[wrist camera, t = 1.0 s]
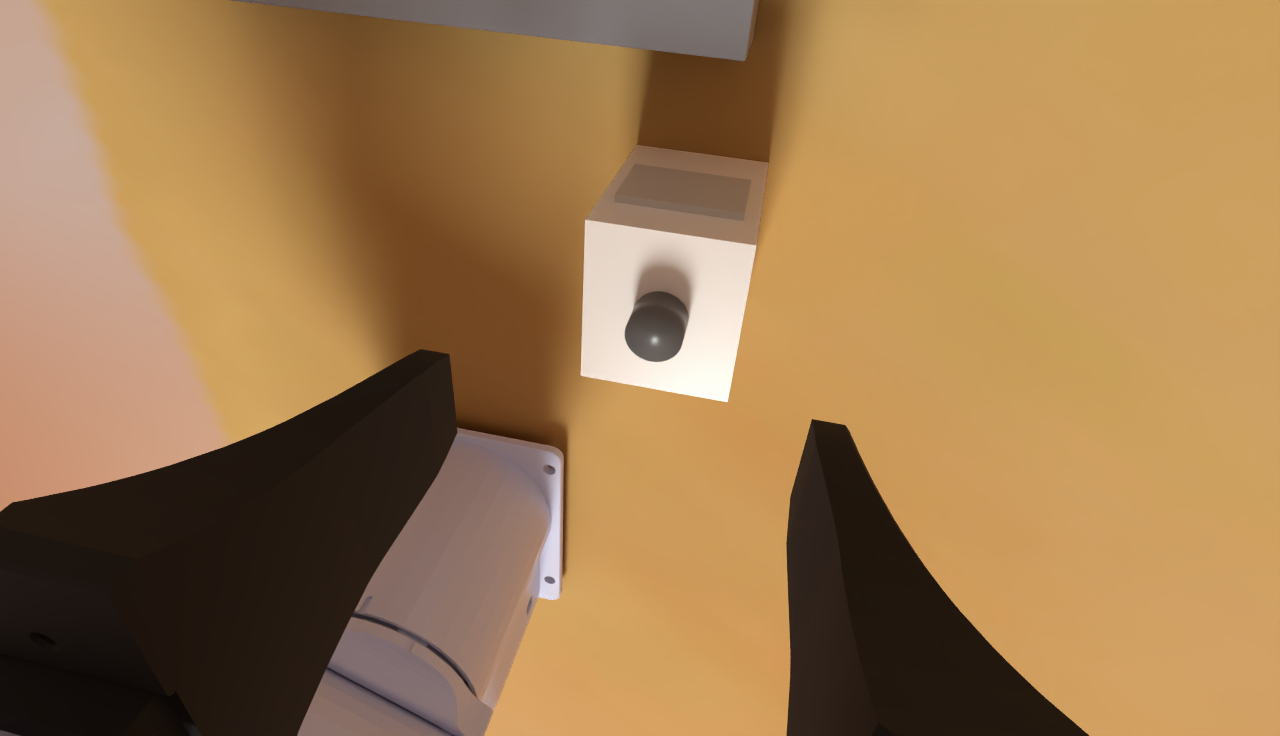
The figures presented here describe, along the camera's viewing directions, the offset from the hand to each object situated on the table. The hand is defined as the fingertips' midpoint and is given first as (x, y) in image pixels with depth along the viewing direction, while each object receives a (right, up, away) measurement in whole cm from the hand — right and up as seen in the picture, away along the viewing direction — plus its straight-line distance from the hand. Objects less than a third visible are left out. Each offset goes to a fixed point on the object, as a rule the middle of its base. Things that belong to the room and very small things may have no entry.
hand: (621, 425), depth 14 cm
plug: (+2, +6, +8) cm, 10 cm away
